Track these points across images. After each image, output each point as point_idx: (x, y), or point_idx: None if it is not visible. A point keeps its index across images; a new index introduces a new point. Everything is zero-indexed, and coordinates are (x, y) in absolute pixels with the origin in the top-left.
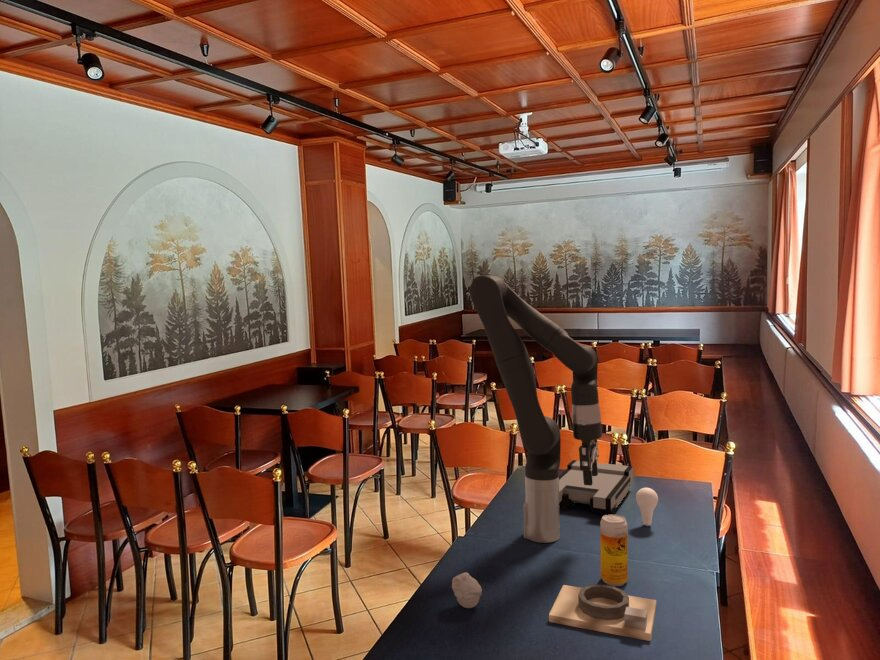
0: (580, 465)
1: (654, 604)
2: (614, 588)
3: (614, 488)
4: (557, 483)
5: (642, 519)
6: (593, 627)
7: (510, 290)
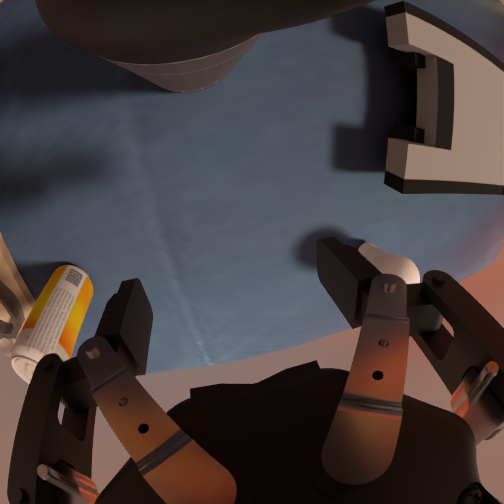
0: (31, 387)
1: None
2: (13, 321)
3: (459, 184)
4: (168, 69)
5: (366, 247)
6: None
7: None
